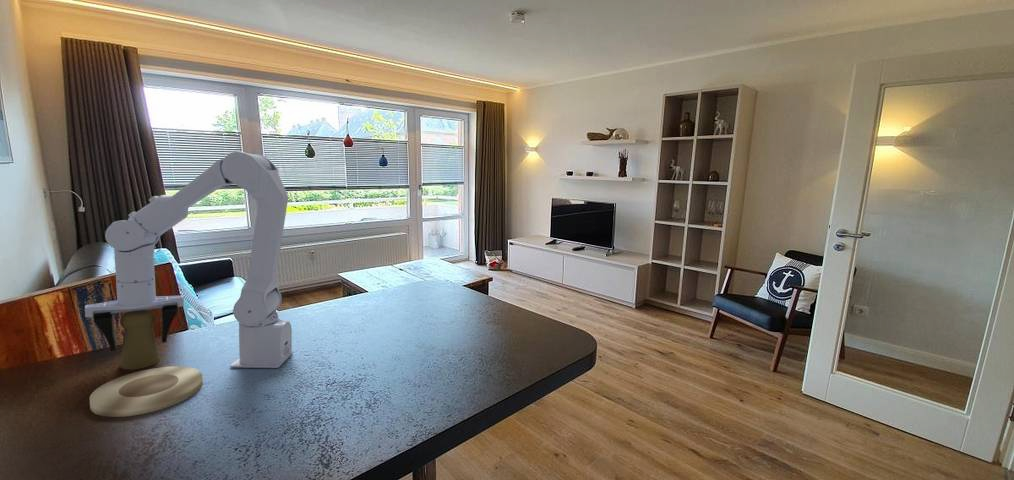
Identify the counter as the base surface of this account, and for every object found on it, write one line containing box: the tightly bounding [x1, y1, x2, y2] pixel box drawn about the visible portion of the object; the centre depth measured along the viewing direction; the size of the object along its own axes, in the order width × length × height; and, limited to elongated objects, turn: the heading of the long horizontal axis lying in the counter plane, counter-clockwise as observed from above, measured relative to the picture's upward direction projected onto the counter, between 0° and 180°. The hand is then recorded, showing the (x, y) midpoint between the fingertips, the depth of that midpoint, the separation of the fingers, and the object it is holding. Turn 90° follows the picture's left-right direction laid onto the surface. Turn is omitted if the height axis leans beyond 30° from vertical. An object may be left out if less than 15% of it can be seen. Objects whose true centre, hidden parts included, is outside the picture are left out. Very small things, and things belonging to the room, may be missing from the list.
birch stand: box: [88, 365, 203, 418], centre depth 72 cm, size 15×15×2 cm
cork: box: [119, 309, 161, 370], centre depth 82 cm, size 6×6×11 cm
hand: (139, 344), depth 82 cm, fingers open, 7 cm apart
